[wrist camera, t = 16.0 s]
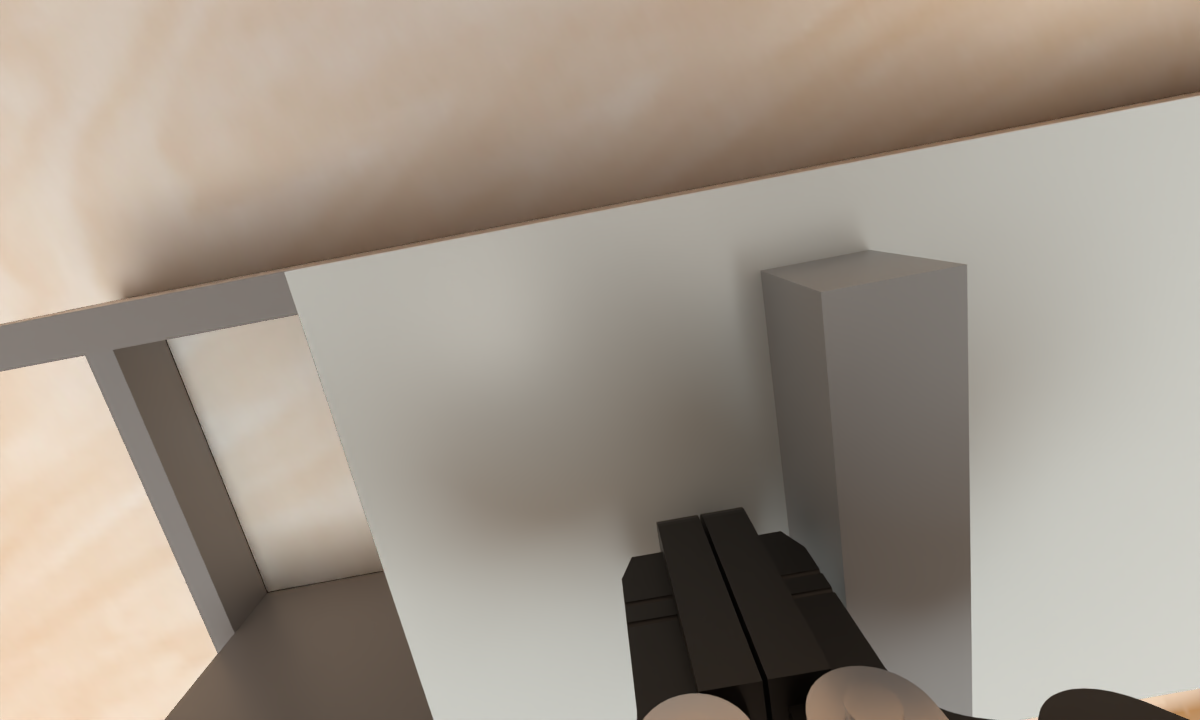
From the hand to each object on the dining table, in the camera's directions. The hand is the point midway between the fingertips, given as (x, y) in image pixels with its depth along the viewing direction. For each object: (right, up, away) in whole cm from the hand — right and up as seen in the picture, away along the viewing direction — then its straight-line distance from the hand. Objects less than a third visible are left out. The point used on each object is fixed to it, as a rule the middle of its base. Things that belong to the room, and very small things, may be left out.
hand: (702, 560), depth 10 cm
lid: (+2, +1, +1) cm, 3 cm away
